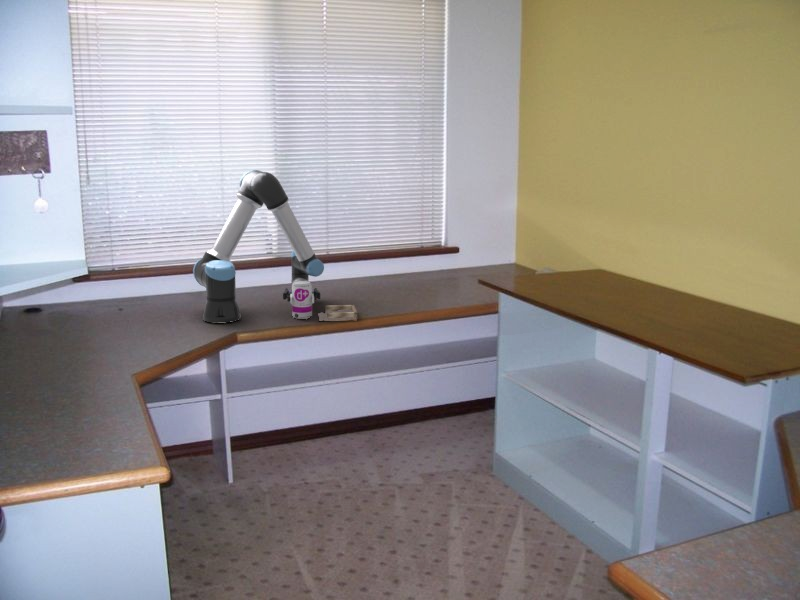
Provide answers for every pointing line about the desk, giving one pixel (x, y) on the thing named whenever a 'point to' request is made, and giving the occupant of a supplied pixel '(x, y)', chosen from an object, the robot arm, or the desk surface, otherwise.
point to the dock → (340, 314)
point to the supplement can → (301, 299)
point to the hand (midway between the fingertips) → (302, 300)
